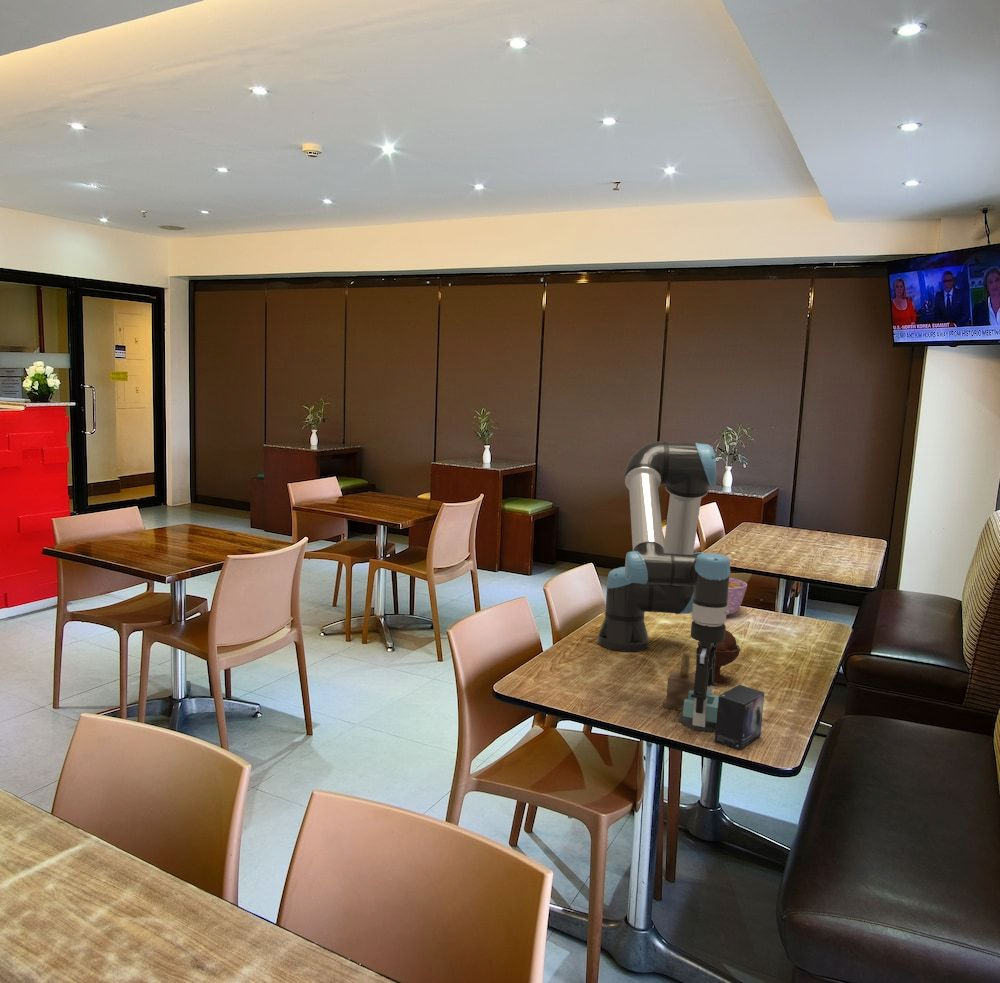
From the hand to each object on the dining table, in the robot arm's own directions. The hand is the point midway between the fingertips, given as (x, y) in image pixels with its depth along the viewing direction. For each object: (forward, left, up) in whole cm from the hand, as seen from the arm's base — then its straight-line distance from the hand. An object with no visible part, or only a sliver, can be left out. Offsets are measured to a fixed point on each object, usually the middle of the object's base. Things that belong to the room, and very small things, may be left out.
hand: (701, 718), depth 181 cm
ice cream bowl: (-1, +31, -1) cm, 31 cm away
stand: (-6, +9, -1) cm, 11 cm away
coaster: (0, 0, -1) cm, 1 cm away
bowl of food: (-11, +101, -1) cm, 102 cm away
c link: (0, 0, +1) cm, 1 cm away
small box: (+9, -5, -1) cm, 10 cm away
